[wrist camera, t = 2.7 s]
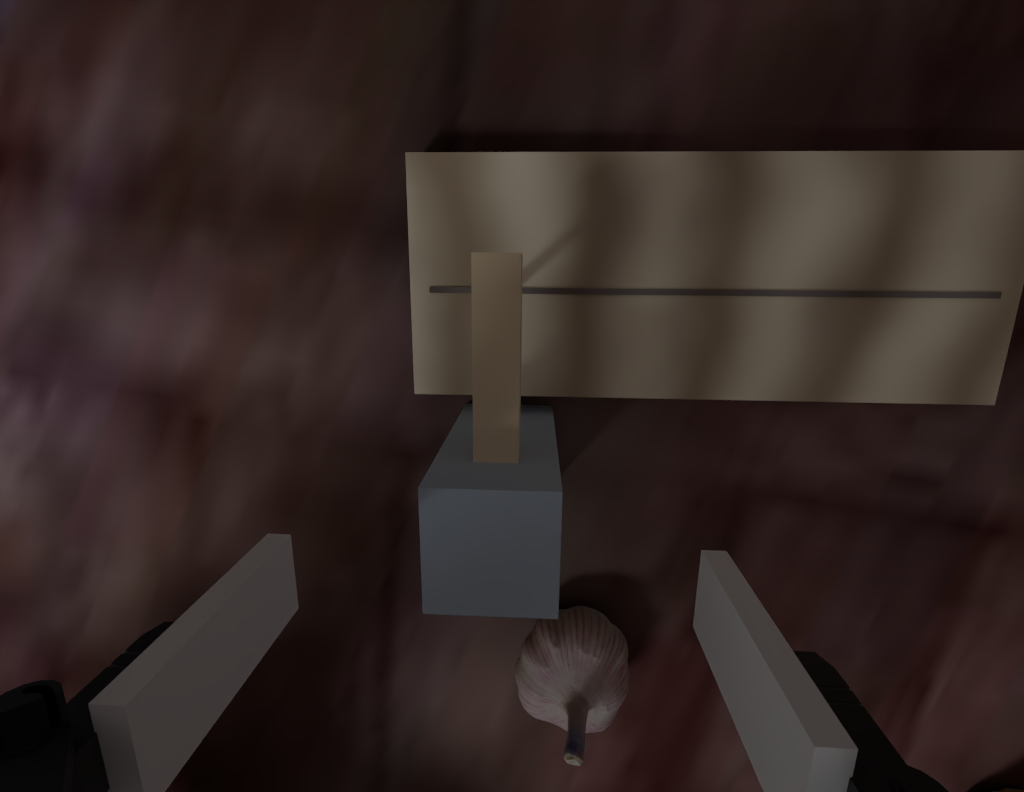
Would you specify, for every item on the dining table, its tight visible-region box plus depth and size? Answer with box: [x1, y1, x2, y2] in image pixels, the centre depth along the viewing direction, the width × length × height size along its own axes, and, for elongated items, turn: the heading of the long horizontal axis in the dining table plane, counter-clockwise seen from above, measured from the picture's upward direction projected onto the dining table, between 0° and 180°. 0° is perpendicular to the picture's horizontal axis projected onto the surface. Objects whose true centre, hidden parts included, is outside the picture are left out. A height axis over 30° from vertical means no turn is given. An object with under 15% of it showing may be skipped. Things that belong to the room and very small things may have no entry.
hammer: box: [418, 252, 563, 619], centre depth 23 cm, size 5×13×12 cm, turn 179°
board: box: [405, 150, 1024, 405], centre depth 26 cm, size 30×12×2 cm, turn 89°
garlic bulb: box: [515, 606, 630, 766], centre depth 28 cm, size 8×7×8 cm
